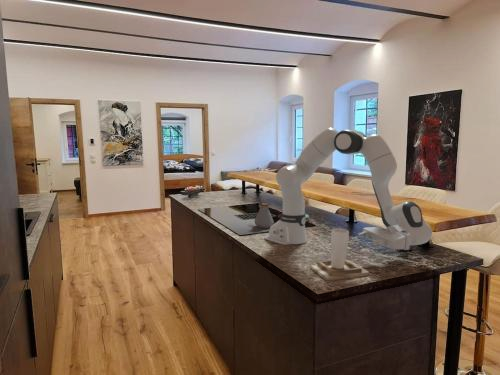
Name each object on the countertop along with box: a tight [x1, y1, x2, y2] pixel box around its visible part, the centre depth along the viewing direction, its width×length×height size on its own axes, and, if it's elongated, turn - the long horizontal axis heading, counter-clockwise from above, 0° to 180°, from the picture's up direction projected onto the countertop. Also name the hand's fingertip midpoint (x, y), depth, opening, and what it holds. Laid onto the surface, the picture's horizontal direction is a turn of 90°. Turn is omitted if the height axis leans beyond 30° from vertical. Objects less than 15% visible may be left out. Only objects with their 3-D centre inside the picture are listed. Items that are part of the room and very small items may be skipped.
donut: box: [305, 213, 310, 223], centre depth 229 cm, size 12×12×4 cm
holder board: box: [309, 258, 370, 282], centre depth 143 cm, size 14×18×3 cm
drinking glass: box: [330, 227, 350, 269], centre depth 143 cm, size 7×7×15 cm
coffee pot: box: [254, 197, 275, 229], centre depth 219 cm, size 21×12×15 cm, turn 9°
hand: (365, 238), depth 145 cm, fingers open, 8 cm apart
